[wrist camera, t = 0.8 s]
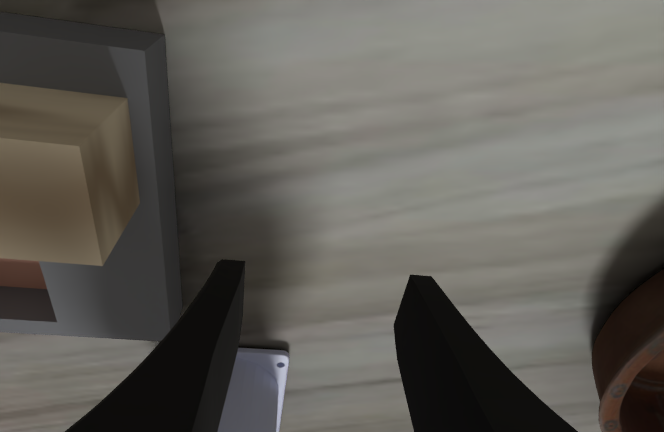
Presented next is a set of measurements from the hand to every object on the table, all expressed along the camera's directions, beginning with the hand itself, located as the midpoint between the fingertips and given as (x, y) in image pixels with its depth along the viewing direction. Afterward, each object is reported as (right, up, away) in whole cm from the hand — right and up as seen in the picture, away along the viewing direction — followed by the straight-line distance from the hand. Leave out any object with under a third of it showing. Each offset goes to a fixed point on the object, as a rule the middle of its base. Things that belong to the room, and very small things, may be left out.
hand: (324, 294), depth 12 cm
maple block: (-10, +5, +5) cm, 12 cm away
